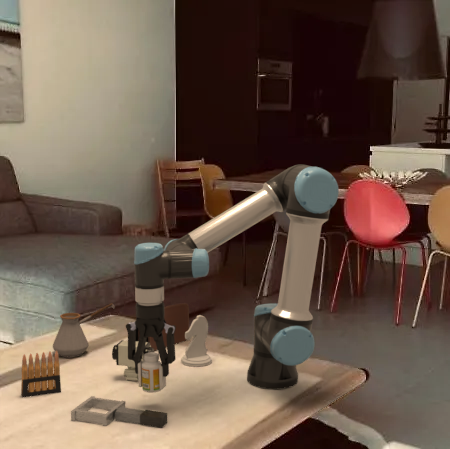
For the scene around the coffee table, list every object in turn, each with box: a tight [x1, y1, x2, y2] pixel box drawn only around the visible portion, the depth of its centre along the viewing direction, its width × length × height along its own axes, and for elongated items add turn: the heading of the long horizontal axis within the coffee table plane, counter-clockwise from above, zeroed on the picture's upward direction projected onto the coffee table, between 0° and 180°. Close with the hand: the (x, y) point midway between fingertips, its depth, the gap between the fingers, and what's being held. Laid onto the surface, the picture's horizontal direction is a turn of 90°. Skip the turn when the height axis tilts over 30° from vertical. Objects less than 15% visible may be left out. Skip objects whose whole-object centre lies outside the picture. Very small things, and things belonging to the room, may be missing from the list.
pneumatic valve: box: [111, 340, 156, 382], centre depth 222 cm, size 6×12×12 cm, turn 78°
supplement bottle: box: [141, 351, 163, 393], centre depth 201 cm, size 5×5×10 cm
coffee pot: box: [52, 302, 116, 358], centre depth 247 cm, size 21×12×15 cm, turn 124°
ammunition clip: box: [20, 351, 62, 398], centre depth 209 cm, size 11×2×12 cm, turn 114°
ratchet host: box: [70, 395, 168, 429], centre depth 194 cm, size 24×11×3 cm, turn 72°
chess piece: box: [180, 314, 213, 368], centre depth 238 cm, size 10×10×15 cm
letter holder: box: [135, 302, 190, 352], centre depth 257 cm, size 10×20×14 cm, turn 141°
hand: (152, 386), depth 202 cm, fingers closed on supplement bottle, 5 cm apart
